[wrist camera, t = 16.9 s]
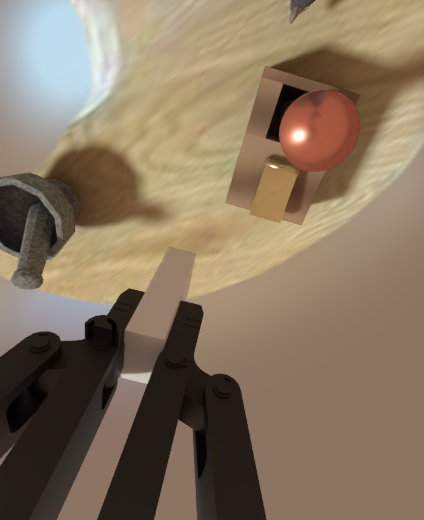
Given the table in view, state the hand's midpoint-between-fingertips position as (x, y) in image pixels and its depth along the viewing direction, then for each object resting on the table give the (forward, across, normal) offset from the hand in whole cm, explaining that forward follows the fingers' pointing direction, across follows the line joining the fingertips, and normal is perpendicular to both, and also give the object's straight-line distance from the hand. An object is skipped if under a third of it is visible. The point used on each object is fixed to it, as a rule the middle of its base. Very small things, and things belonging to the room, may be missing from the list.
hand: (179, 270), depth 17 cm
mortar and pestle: (+20, -19, -9) cm, 29 cm away
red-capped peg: (+20, +6, +8) cm, 23 cm away
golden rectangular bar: (+15, +6, +1) cm, 16 cm away
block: (+20, +6, +5) cm, 22 cm away
